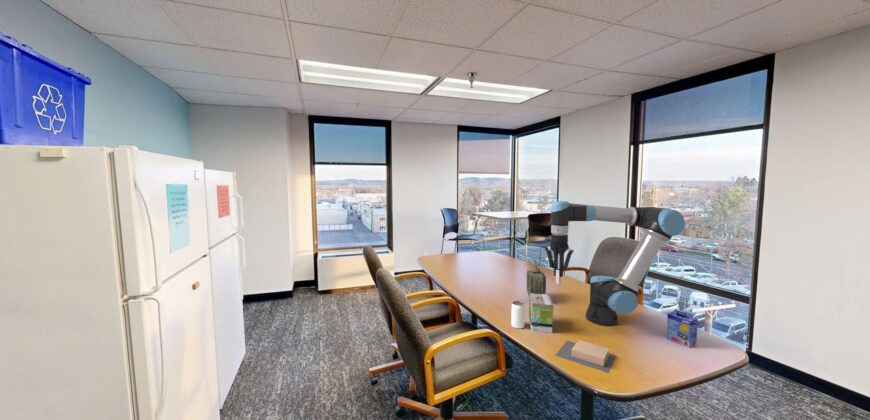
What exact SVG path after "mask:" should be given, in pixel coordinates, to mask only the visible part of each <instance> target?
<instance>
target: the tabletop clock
mask: <svg viewBox="0 0 870 420" xmlns="http://www.w3.org/2000/svg"><path fill="white" fill-rule="evenodd" d="M526 292H527V295H528V298H530V293H533V294H547V277H546V274H545V273H544V272H543V271H541V270H540V268H539V267H538V261H537V260H536V259H535V260H534V267H532V269H531V270H527V271H526Z"/></svg>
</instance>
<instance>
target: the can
mask: <svg viewBox="0 0 870 420" xmlns="http://www.w3.org/2000/svg"><path fill="white" fill-rule="evenodd" d="M525 307H526V306H525V303H524V302H522V301H519V300H515V301H512V303H511V315H510V316H511V317H510V318H511V319H510V320H511V321H510V323H511V327H512V328H514V329H517V330H522V329H524V328H525V319H526V317H525V315H526V308H525Z"/></svg>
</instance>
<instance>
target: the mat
mask: <svg viewBox="0 0 870 420" xmlns="http://www.w3.org/2000/svg"><path fill="white" fill-rule="evenodd" d="M576 343H577V342H574V341H570V340H566V341H565V342H564V343H563V345H562V346H561V347H560V348H559V350H558V351H557V352H556V353H555V354H554V355H555V357H559V358H562V359H565V360H567V361H571V362H573V363H577V364H578V365H583V366H586V367H589V368H592V369H595V370H598V371H601V372H604V373H606V374H609V372H610V370H611V368H612V366H613V364H614V362H615V359H616V357H617V356H618V355H617V354H615V353H611V352H609V357H608V359H607V361H606V363H605V364H604V366H600V365H596V364H593V363H590V362H587V361H584V360H581V359H578V358H575V357H572V356H571V352H572V348H573V347H574V345H575V344H576Z"/></svg>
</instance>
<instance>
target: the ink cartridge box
mask: <svg viewBox="0 0 870 420" xmlns="http://www.w3.org/2000/svg"><path fill="white" fill-rule="evenodd" d="M698 321H699V319H698V318H696V317H692V316H689V315H687V314H686V312H682V311H680V310H676V311H671V312H668V313H667V322H666V339H667V340H669V341H672V342H674V343H677V344H680V345H682V346H684V347H687V348H689V349H690V348H693V347H696V346H697V341H698V339H697V338H698V323H699V322H698Z"/></svg>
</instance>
